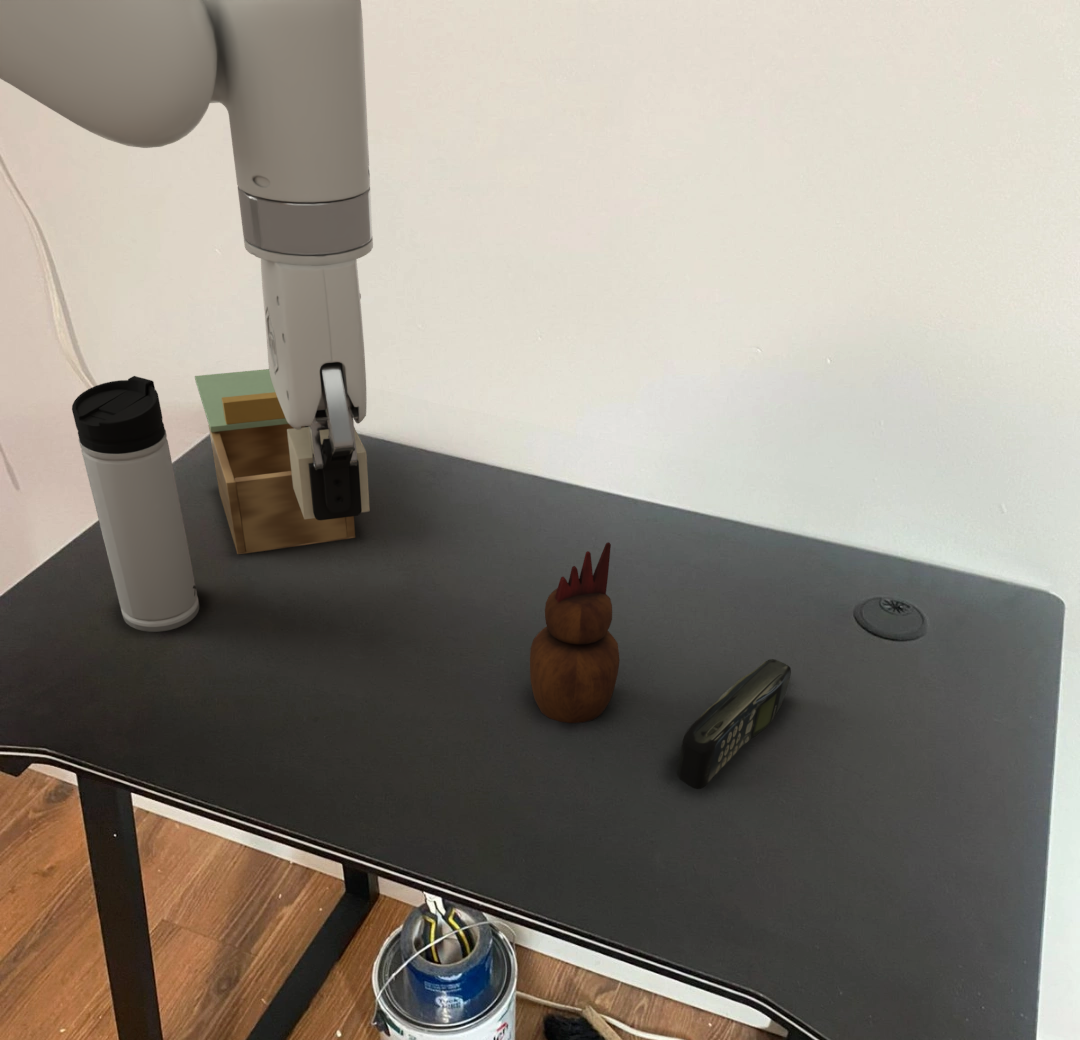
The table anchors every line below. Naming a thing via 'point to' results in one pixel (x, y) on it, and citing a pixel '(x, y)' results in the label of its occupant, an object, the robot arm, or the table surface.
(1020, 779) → the table surface
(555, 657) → the wooden figurine
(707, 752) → the mobile phone
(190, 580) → the travel mug
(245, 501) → the oak box
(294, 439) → the cream block
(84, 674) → the table surface
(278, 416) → the slide door
